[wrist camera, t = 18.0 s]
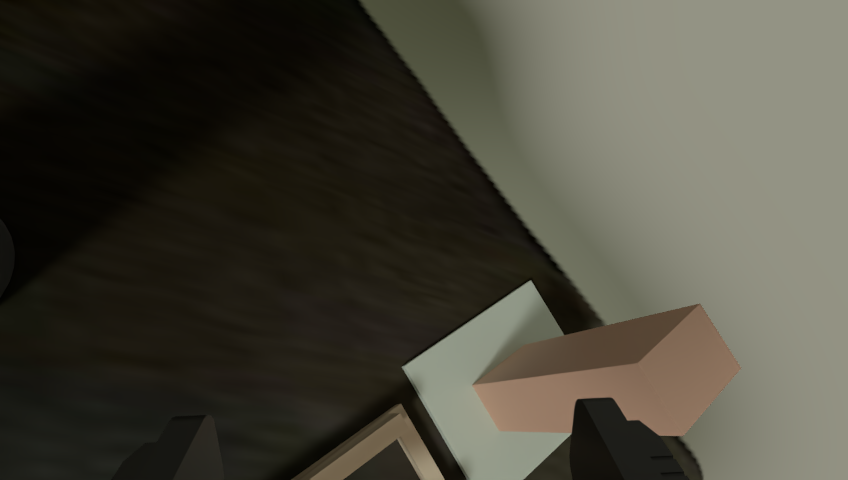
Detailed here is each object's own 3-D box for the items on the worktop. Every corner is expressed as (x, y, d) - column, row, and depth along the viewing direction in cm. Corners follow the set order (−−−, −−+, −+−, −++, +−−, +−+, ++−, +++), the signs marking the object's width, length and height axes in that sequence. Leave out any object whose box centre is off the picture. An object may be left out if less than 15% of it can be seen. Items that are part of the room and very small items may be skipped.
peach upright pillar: (472, 385, 40) (637, 363, 25) (524, 344, 43) (700, 303, 28) (499, 431, 40) (683, 435, 25) (550, 387, 43) (741, 368, 28)
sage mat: (401, 366, 39) (404, 366, 38) (527, 281, 46) (530, 280, 45) (485, 511, 38) (488, 512, 37) (600, 402, 45) (604, 401, 44)
